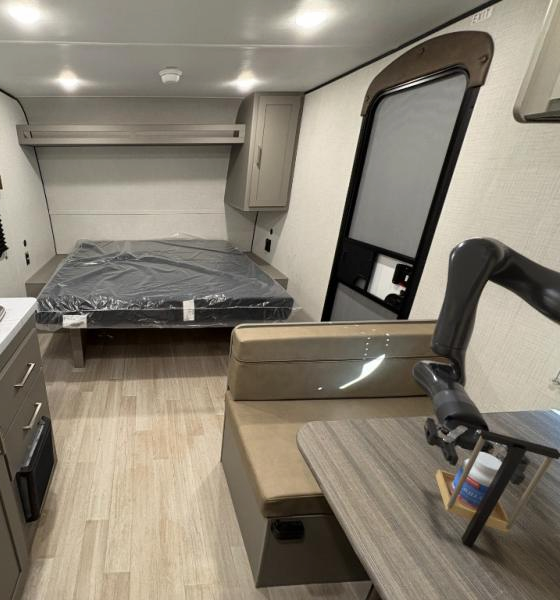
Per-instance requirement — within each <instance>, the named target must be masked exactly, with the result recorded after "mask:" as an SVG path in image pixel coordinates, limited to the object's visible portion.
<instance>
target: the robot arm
mask: <svg viewBox="0 0 560 600" xmlns="http://www.w3.org/2000/svg"><path fill="white" fill-rule="evenodd" d="M488 282H491V283H493V284H495V285H497V286H500V287H501V288H504V289H506V290H508V291H509V292H512V293H513V294H514V295H516V296H517V297H519V298H520V299H521V300H523V301H524V302H525V303H526V304H528V305H529V306H530V307H531V308H532V309H534V310H535V311H537V312H538V313H539V314H541V316H543V317H544V318H546V319H548V320H549V321H551V322H552V323H554V324H556V325H557V326H559V327H560V271H558V270H555V269H552V268H549V267H546V266H544V265H542V264H540V263H538V262H536V261H534V260H532V259H530V258H529V257H527V256H525V255H523V254H522V253H520V252H518V251H516V250H515V249H513V248H512V247H510V246H509V245H507V244H506V243H503V241H500V239H496V238H494V237H489V236H479V237H470V238H467V239H464V240H462V241H459V242H458V243H457V244H455V246H454V247H453V248H452V249H451V250H450V252H449V256H448V266H447V281H446V287H445V293H444V297H443V301H442V305H441V308H440V311H439V314H438V318H437V321H436V323H435V327H434V330H433V333H432V336H431V340H430V343H429V350H430V352H432V353H433V354H435V355H437V356H440V357H442V358H444V359H447V360H448V361H449V362H448V363H445V362H439V361H434V360H429V359H422V360H419V361H417V362H416V363H414V365H413V367H412V372H411V373H412V378H413V380H414V382H415V383H416V385H417V386H418V387H419V388H420V389H421V390H422V391H423V393H424V394H426V396H428V397H429V399H430V401H431V404H432V408H433V409H432V410H433V413H434V414H435V417H436V420H437V422H438V423H437V422H436V421H435V419H434V418H432V417H427V418H426V419H425V423H424V425H423V430H424V435H425V439H426V443H427V444H428V445H429V446H432V447H435V446H436V447H438V448H439V450H440V451H441V453H442V455H443V458H444V459H445V461H446V462H448V463H449V465H451V466H454V467H456V466H457V464H458V461H459V455H458V452H457V450H456V447H458V446H459V447H460V448H461V449H463V450H466V451H472V452H473V450H474V448H475V446H476V444H477V442H478V440H479V438H480V436H481V435H480V433H481V431H482V430H486V431H490V428H489V425H488V423H487V421H486V420H485V418H484V416H483V415H482V413H481V412H480V410H479V408H478V406H477V405H476V403H475V402H474V401H473V399H471V397H470V396H469V393H468V392H467V390H466V389H465V387H466V384H467V373H466V356H467V351H468V348H469V345H470V343H471V339H472V336H473V333H474V330H475V325H476V317H477V312H478V307H479V302H480V300H481V297H482V295H483V291H484V290H485V288H486V285H487V283H488ZM438 431H440V433H441V434H442V435H444V437H441V436H440V435H439V432H438ZM492 449H493V451H492V452H490V451H491V450H492ZM509 449H510V446H507V445H503V444H499V443H496V442H492V441H488V440H485V442H484V444H483V446H482V448H481V450H480V452H484V453H488V454H490V455H492V456H494V457H496V458H497V459H499V460H500V461H501V462H503V460H504V458H505V456H506V455H507V453H508V451H509ZM502 457H503V458H502ZM530 463H531V461H530V459H529V458H528V457H527V455H526V453H525V454H524V456H523V458H522V460H521V461H520V463H519V465H518V467H517V468H516V470H515V472H514V474H513V476H512V477H511V479H510V481H509V482H510V483H511V484H512V485H516V486H520V485H521V484H523V482H524V480H525V479H526V475H525V471H526V469H527V468H528V465H529V464H530Z"/></svg>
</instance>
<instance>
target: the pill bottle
mask: <svg viewBox="0 0 560 600" xmlns="http://www.w3.org/2000/svg"><path fill="white" fill-rule="evenodd" d="M469 459H470V458H466V459H465V460H463V461H462V463H461V465H460V467H459V469H458V471H457V473H456V474H455V475H456V477H455V479H454V480H453V482H452V484H451V487H450V490H451V493H452V494H453V492H454V490H455V488H456V486H457V483H458V481H459V479H460V477H461V475H462V473H463V471H464V469H465V467H466V465H467V463H468V461H469ZM501 464H502V462H501V461H500V460H499V459H497V458H496V457H494V456H492V455H490V454H488V453H484V452H479V454H478V456H477V458H476V460H475V462H474V464H473V466H472V469H471V471H470V473H469V475H468V477H467V479H466V481H465V483H464V485H463V487H462V489H461V491H460V493H459V495H458V497H457V500H458V501H459V502H461V503H462V504H463V505H465V506H467V507H469V508H471V509H473V510H477V508H478V506H479V505H480V503H481V501H482V499H483V497H484V495H485V493H486V492H487V490H488V488H489V486H490V484H491V482H492V481H493V479H494V477H495V475H496V473H497V471H498V469H499V468H500V466H501Z"/></svg>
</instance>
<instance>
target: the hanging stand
mask: <svg viewBox="0 0 560 600" xmlns="http://www.w3.org/2000/svg"><path fill="white" fill-rule="evenodd" d="M480 435H481V436H480V438H479V440H478V442H477V444H476V446H475V448H474V450H473V451H472V452H471V454H470V457H469V458H468V459H469V461H468V463H467V465H466V467H465V469H464V471H463V473H462V475H461V477H460V479H459V481H458V483H457V486H456V488H455V490H454V492H453V494H452V493H451V490H450V487H451V484H452V482H453V480H454V479H455V477H456V475H457V474H456V473H452V472H449V471H445V470H443V469H439V468H438V470H437V472H436V474H435V479H436V482H437V485H438V488H439V492H440V495H441V498H442V501H443V504H444V508H445V511H446V512H448V513H451V514H453V515H456V516H460V517H462V518H465V519H467V520H470V521H469V523H468V524H467V527H466V529H465V530H464V533H463V534H462V536H461V541H462V545H464V546H467V547H469V548H473V546H474V544H475V543H476V541H477V539H478V537H479V536H480V534H481V532H482V530H483V528H484V527H485V526H487V527H488V528H489V527H490V528H491V529H496V530H498V531H501V532H502V533H506V534H507V533H509V532H508V531H510V530H511V529H512V528H513V526H514V524H515V522H516V521H517V519H518V517H519V516H520V514H521V512H522V511H523V509H524V508H525V506H526V504H527V503H528V501H529V499H530V498H531V496H532V495H533V493H534V492H535V490H536V488H537V487H538V485H539V484H540V482H541V480H542V479H543V477H544V475H545V474H546V472H547V470H549V467H550V466H551V464H552V463H553V460H554V459H555V460H559V459H560V451H559V450H558V449H557V448H554V447H551V446H546V445H543V444H539V443H535V442H531V441H527V440H524V439H519V438H516V437H513V436H508V435H505V434H501V433H497V432H493V431H490V430H489V431H486V430H482V431H481V433H480ZM485 440H488V441H492V442H496V443H499V444H503V445H507V446H510V449H509V451H508V453H507V455H506V456H505V457H503V462H502V464H501V466H500V468H499V469H498V471H497V473H496V475H495V477H494V479H493V481H492V482H491V484H490V486H489V488H488V490H487V492H486V493H485V495H484V497H483V499H482V501H481V503H480V505H479V506H478V508H477V510H473V509H471V508H469V507H467V506H465V505H463V504H462V503H461V502H459V501H458V500H457V497H458V495H459V493H460V491H461V489H462V487H463V485H464V483H465V481H466V479H467V477H468V475H469V473H470V471H471V469H472V466H473V464H474V462H475V460H476V458H477V456H478V454H479V452H480V450H481V448H482V446H483V444H484V442H485ZM527 452H529V453H532V454H536V455H541V456H544V457H545V458H544V459H543V461H542V463H541V465H540V466H539V468H538V469H537V471H536V472H535V474H534V475H533V478H532V479H531V481H530V483H529V485H528V486H527V488H526V489H525V491H524V493H523V494H522V496H521V498H519V499H520V500H519V501H518V502H517V504H516V505H515V507H514V509H513V510H512V512H511V514H510V516H509V517H508V515H507V513H506V511H505V509H504V506H503V505H502V502H501V501H500V499H501V497H502V495H503V493H504V491H505V489H506V488H507V486H508V484H509V483H510V482H511V481H510V479H511V477H512V476H513V474H514V472H515V470H516V468H517V467H518V465H519V463H520V461H521V460H522V458H523V456H524V454H525V455H526V453H527Z"/></svg>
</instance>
